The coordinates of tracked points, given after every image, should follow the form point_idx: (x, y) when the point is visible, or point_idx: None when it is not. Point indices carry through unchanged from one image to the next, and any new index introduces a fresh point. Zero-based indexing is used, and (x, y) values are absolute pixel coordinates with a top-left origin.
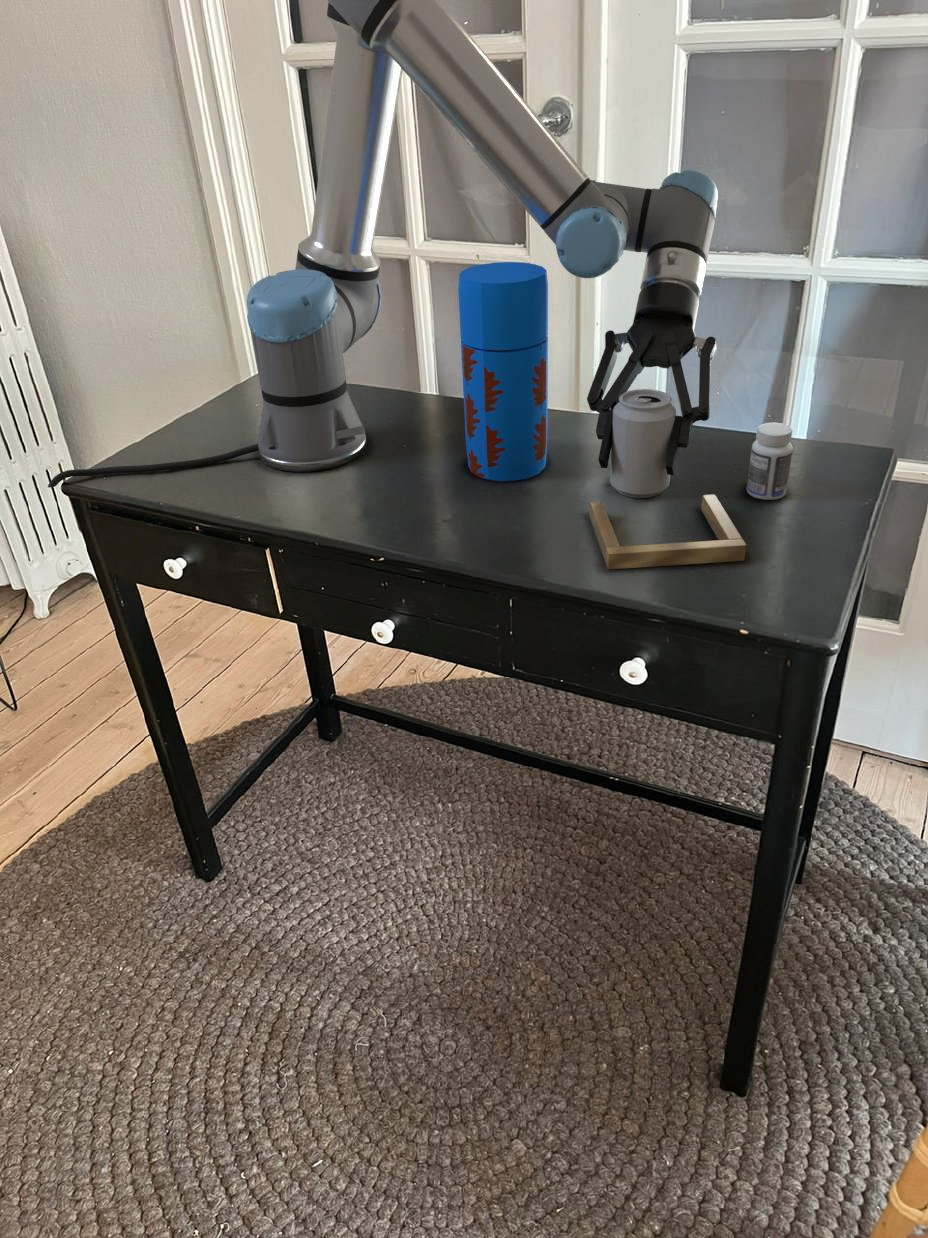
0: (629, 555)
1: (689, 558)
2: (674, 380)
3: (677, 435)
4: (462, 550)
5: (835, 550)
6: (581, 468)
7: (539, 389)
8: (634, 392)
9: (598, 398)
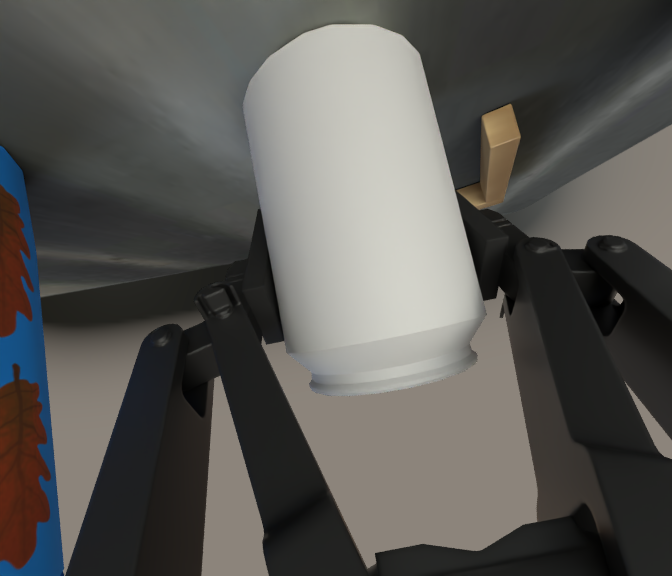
0: None
1: None
2: (530, 415)
3: None
4: (197, 262)
5: (655, 123)
6: (48, 53)
7: (33, 437)
8: (345, 385)
9: (209, 378)
